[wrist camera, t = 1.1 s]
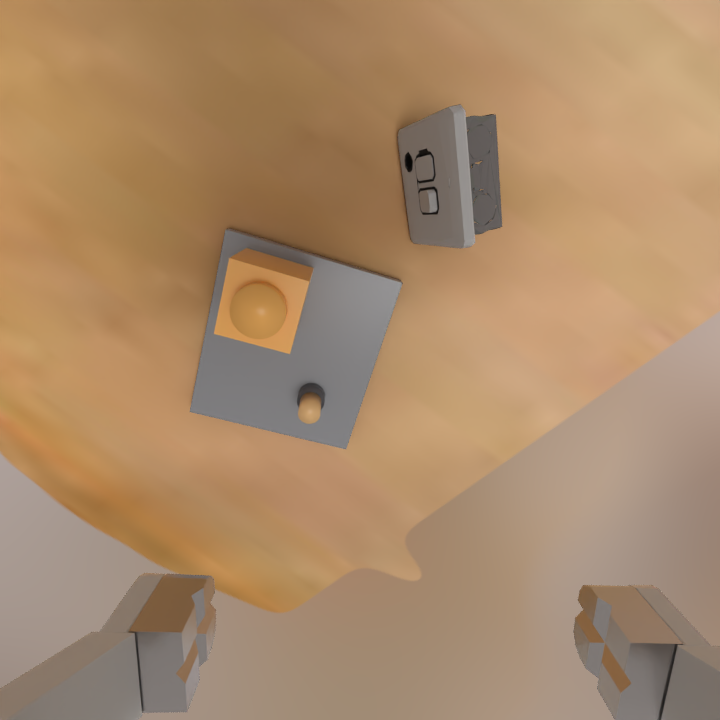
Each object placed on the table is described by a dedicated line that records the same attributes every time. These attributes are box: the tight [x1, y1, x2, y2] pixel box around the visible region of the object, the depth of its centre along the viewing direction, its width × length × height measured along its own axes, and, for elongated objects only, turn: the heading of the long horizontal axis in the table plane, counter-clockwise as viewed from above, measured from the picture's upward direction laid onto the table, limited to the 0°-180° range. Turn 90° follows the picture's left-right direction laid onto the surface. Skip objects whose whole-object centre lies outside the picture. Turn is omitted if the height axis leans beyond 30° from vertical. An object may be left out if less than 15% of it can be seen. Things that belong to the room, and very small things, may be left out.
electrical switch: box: [398, 105, 502, 248], centre depth 34 cm, size 9×5×9 cm, turn 10°
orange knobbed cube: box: [214, 248, 314, 354], centre depth 36 cm, size 6×6×8 cm
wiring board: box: [190, 228, 402, 449], centre depth 40 cm, size 18×16×6 cm
